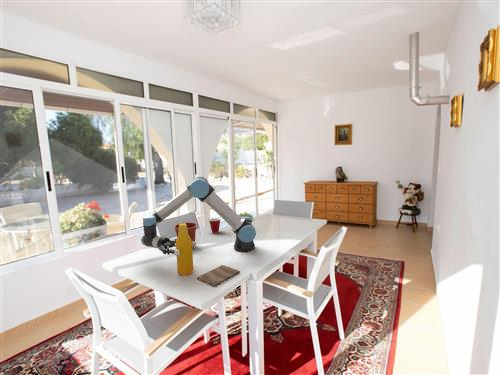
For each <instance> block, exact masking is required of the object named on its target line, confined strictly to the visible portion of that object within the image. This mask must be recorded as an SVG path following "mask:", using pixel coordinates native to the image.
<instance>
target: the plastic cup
mask: <svg viewBox="0 0 500 375" xmlns="http://www.w3.org/2000/svg"><path fill="white" fill-rule="evenodd" d="M221 220H222V218H219V217H218V218H217V217H214V218H209V219H208V221H209V225H210V230H211V233H212V234H219V231H220V227H221V226H220V224H221Z"/></svg>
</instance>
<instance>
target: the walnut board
mask: <svg viewBox="0 0 500 375" xmlns="http://www.w3.org/2000/svg"><path fill="white" fill-rule="evenodd" d="M240 273H241V270H239V269H237V268H233V267H230V266H227V265H224V264H222V265H219V266H218V267H215V268H213V269H211V270H209V271H207V272H205V273H203V274H201V275H199V276H196V279H197V281H200V282H201V283H204V284H206V283H207V284H206V285H209V286H211V287H213V286H214V287H213V288H216V287H218V286H219V285H221V284H222V282H223V283H225V282H226V281H228V280H230V279H231V278H232V279H233V277H235V276H237V275H239V274H240ZM224 281H225V282H224ZM217 285H218V286H217ZM215 286H216V287H215Z"/></svg>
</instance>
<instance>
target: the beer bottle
mask: <svg viewBox="0 0 500 375" xmlns="http://www.w3.org/2000/svg"><path fill="white" fill-rule="evenodd" d="M181 223H182V224H180V223H178V224H179V234H178V237H177V236H176V239H177V240H176V243H175V245H176V247H175V249H176V250H179V253H180V255H176V268H177V269H176V270H177V274H178V275H179V276H189V275H192V274H193V273H194V269H195V268H194V256H193V255H194V254H193V253H194V251H193V247H192V241H191V238H190V236H189V234H188V230H187V224H186V223H187V222H181Z"/></svg>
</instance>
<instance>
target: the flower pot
mask: <svg viewBox="0 0 500 375" xmlns="http://www.w3.org/2000/svg"><path fill="white" fill-rule="evenodd" d="M182 223H183V222H180V223H177V224H174V226H173V227H174V230H175V231H174V232H175V234H176V238H177V237H178V234H179V224H182ZM185 223H186V224H187V230H188V234H189V236H190V238H191V241H192V242H196V230H197V226H198V224H197V223H195V222H190V221H189V222H185Z"/></svg>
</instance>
